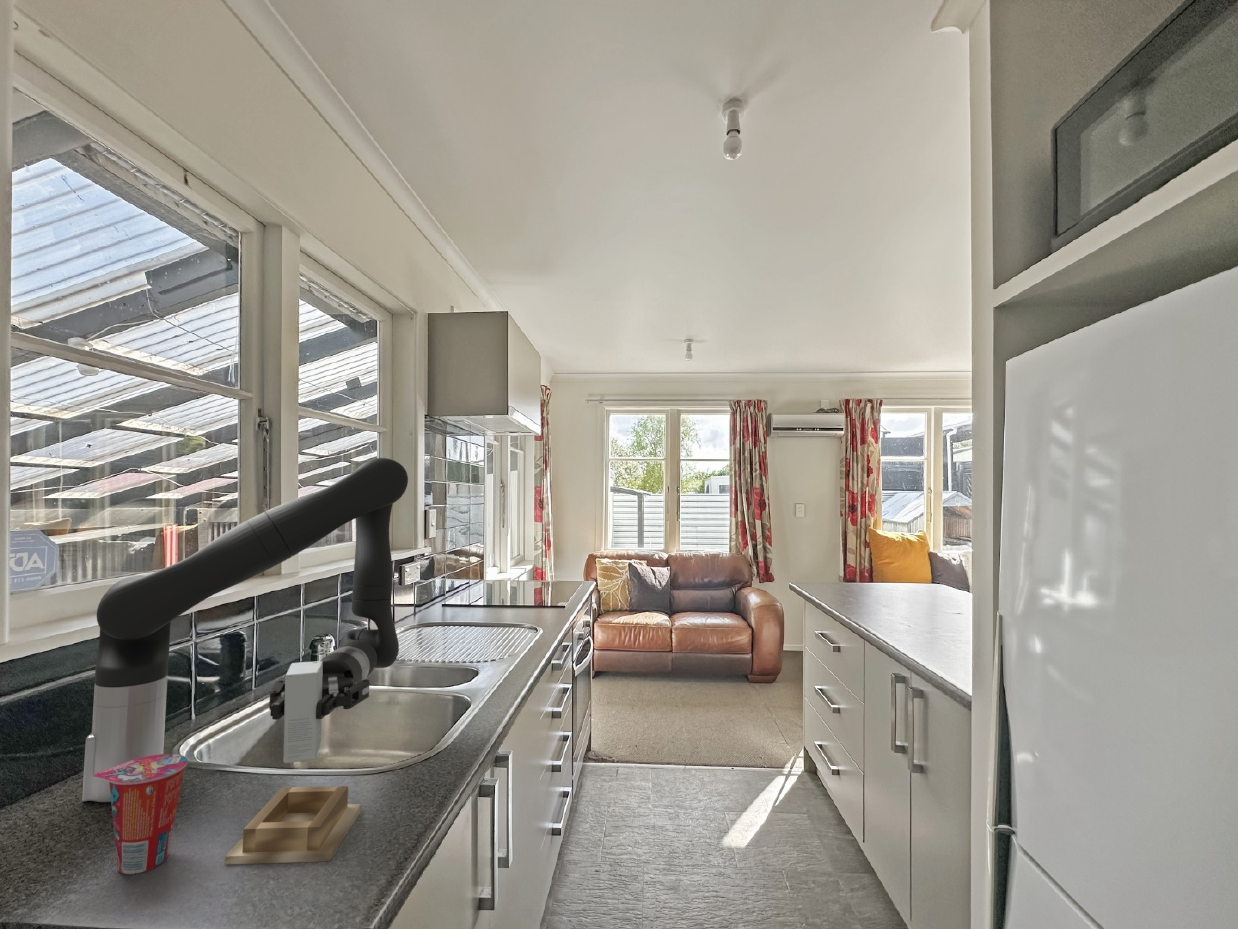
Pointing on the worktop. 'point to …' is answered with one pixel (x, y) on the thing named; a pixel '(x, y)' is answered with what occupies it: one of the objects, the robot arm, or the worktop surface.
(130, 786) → the cup
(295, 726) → the skincare box
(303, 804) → the socket holder
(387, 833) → the worktop surface
